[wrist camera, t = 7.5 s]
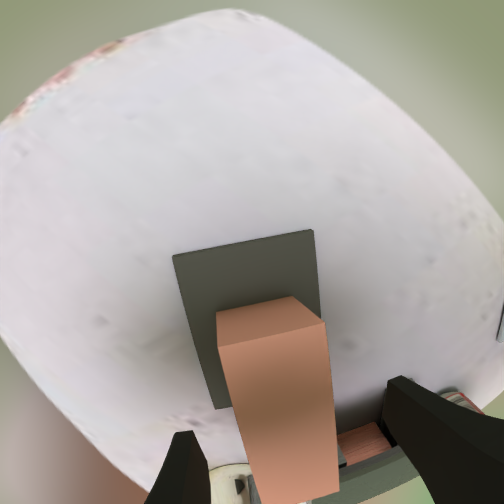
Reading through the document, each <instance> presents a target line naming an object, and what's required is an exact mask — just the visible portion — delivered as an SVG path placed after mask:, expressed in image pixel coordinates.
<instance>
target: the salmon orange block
mask: <svg viewBox="0 0 504 504" xmlns="http://www.w3.org/2000/svg"><path fill="white" fill-rule="evenodd" d="M216 325H217V345H218V351H219V355H220V359H221V363H222V367H223V371H224V375H225V379H226V383H227V386H228V390H229V394H230V398H231V402H232V405H233V409H234V413H235V416H236V420H237V423H238V427H239V431H240V434H241V438H242V441H243V444H244V448H245V451H246V455H247V458H248V461H249V465H250V468H251V471H252V474H253V478H254V481H255V484H256V487H257V490H258V493H259V496H260V499H261V503H262V504H298V503H302V502H306V501H309V500H313V499H316V498H319V497H323V496H326V495H329V494H332V493H335V492H338V491H339V469H338V451H337V436H336V423H335V410H334V399H333V389H332V379H331V369H330V360H329V351H328V343H327V335H326V327H325V322H324V321H323V320H321V319H320V318H319V317H318V316H316V315H315V314H314V313H313V312H311V311H310V310H309V309H308V308H306V307H305V306H304V305H303V304H302V303H300V302H299V301H298V300H297V299H295V298H294V297H293V296H289V297H284V298H280V299H276V300H271V301H266V302H262V303H257V304H253V305H248V306H243V307H238V308H233V309H228V310H223V311H218V312H216Z"/></svg>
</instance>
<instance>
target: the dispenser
mask: <svg viewBox="0 0 504 504" xmlns="http://www.w3.org/2000/svg"><path fill="white" fill-rule="evenodd" d="M409 380H411V381H413V379H412V378H410V379H409ZM413 382H414V381H413ZM386 389H387V388H386ZM386 389H385V396H386ZM385 396H384V403H385ZM384 403H383V409H384ZM383 409H382V415H383ZM382 415H381V421H380V426H379V428H378V426H377V425H376V423H375V422H372V423H369V424H367V425H364V426H362V427H359V428H356V429H353V430H351V431H348V432H345V433H342V434H339V435H336V436H337V451H338V469H339V491H338V492H335V493H332V494H329V495H326V496H323V497H319V498H316V499H313V500H309V501H306V503H307V504H357V503H360V502H363V501H365V500H368V499H370V498H372V497H375V496H377V495H379V494H382V493H384V492H386V491H389V490H391V489H393V488H395V487H397V486H399V485H401V484H403V483H406V482H408V481H410V480H412V479H413V478H415V477H417V476H419V475H420V474H419V473H418V471H417V470H416V469H415V467H414V466H413V464H412V463H411V462H410V460H409V459H408V457H407V456H406V455H405V453H404V452H403V450H402V449H401V448H400V446H399V445H398V443H397V442H396V440H395V439H394V437H393V436H392V434H391V432H390V430H389V428H388V426H387V424H386V422H385V420H384V418H383V416H382Z"/></svg>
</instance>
